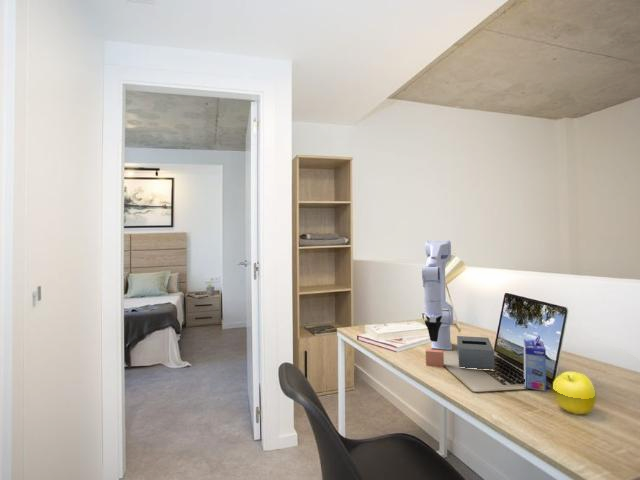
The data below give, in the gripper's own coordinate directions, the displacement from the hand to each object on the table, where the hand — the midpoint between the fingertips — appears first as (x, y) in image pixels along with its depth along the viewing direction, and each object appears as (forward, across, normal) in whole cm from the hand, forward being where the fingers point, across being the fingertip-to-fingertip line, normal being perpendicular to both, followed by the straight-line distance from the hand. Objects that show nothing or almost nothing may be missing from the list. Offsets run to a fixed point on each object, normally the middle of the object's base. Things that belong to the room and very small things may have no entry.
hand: (434, 338), depth 124 cm
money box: (+9, -6, +14) cm, 18 cm away
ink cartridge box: (+10, +10, +29) cm, 32 cm away
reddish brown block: (+10, 0, 0) cm, 10 cm away
